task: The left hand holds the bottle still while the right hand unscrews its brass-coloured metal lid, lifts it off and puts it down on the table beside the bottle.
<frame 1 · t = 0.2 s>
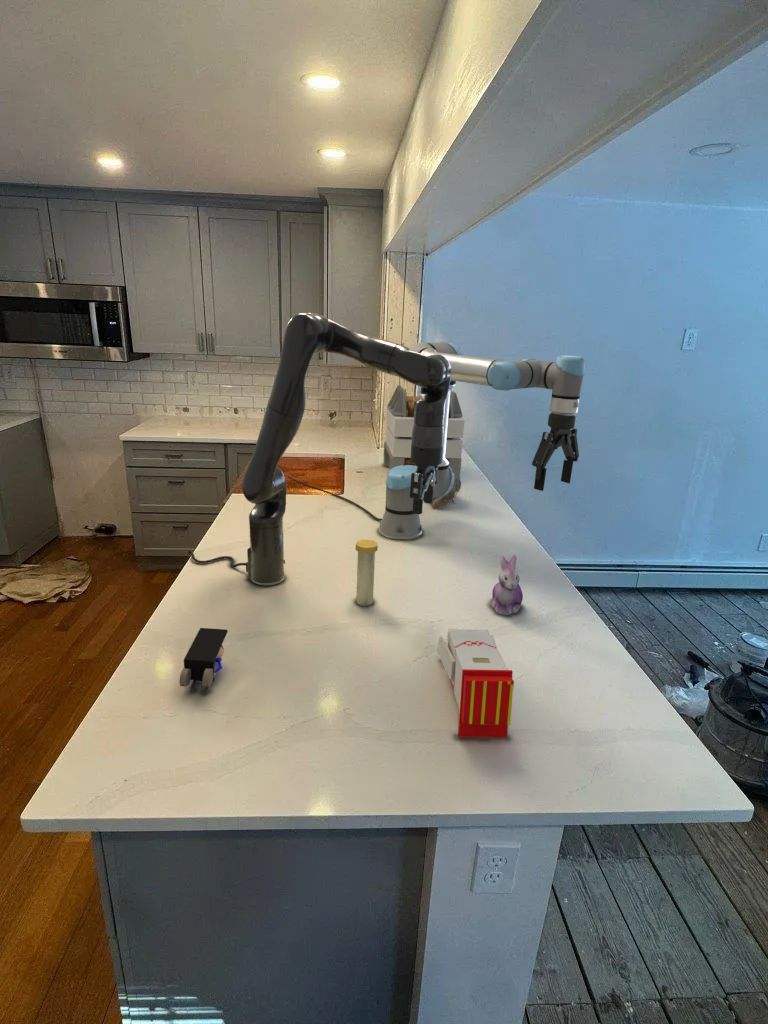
left hand: (422, 508, 138), 29 cm above the counter, tool pointing down, fingers open, 8 cm apart
right hand: (552, 485, 166), 28 cm above the counter, tool pointing down, fingers open, 13 cm apart
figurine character: (206, 676, 120), on the counter
lid: (366, 544, 147), point 17 cm above the counter, screwed on, not yet turned
bottle: (364, 601, 153), on the counter
fossil: (443, 501, 236), on the counter
toy: (469, 691, 119), on the counter
white wooden crate: (419, 473, 275), on the counter
figurine: (506, 607, 153), on the counter
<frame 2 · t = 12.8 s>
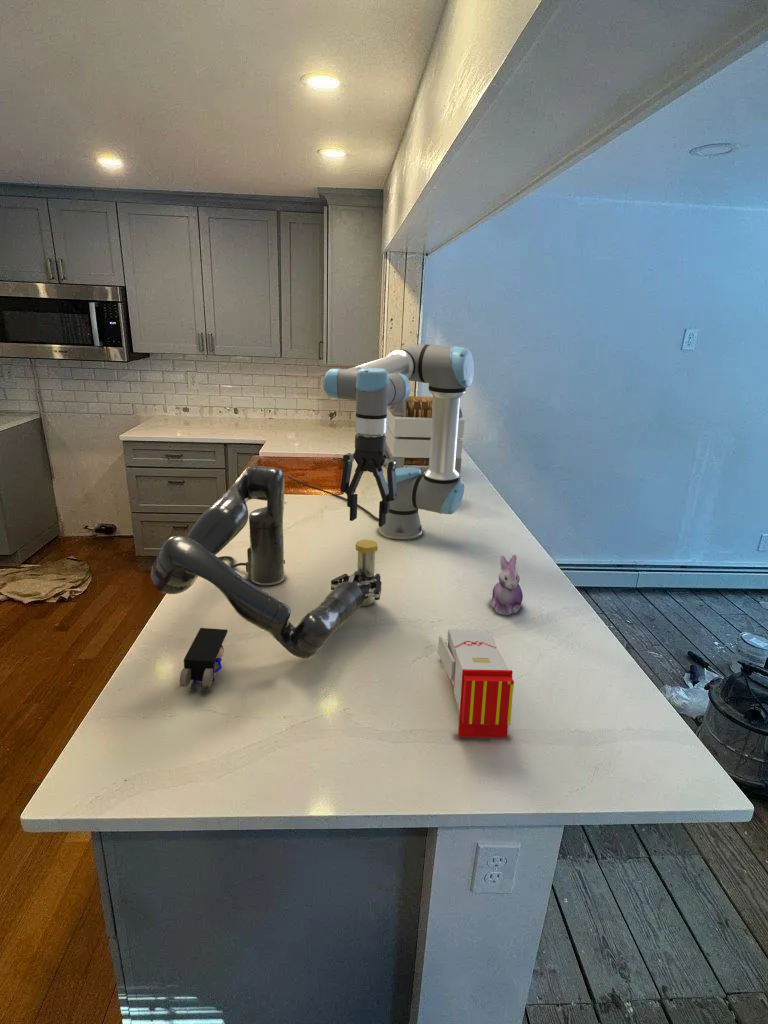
left hand: (369, 574, 153), 7 cm above the counter, tool horizontal, fingers closed on bottle, 4 cm apart
right hand: (367, 521, 145), 23 cm above the counter, tool pointing down, fingers open, 7 cm apart
bottle: (364, 601, 153), on the counter, touching left hand
everything else where it was.
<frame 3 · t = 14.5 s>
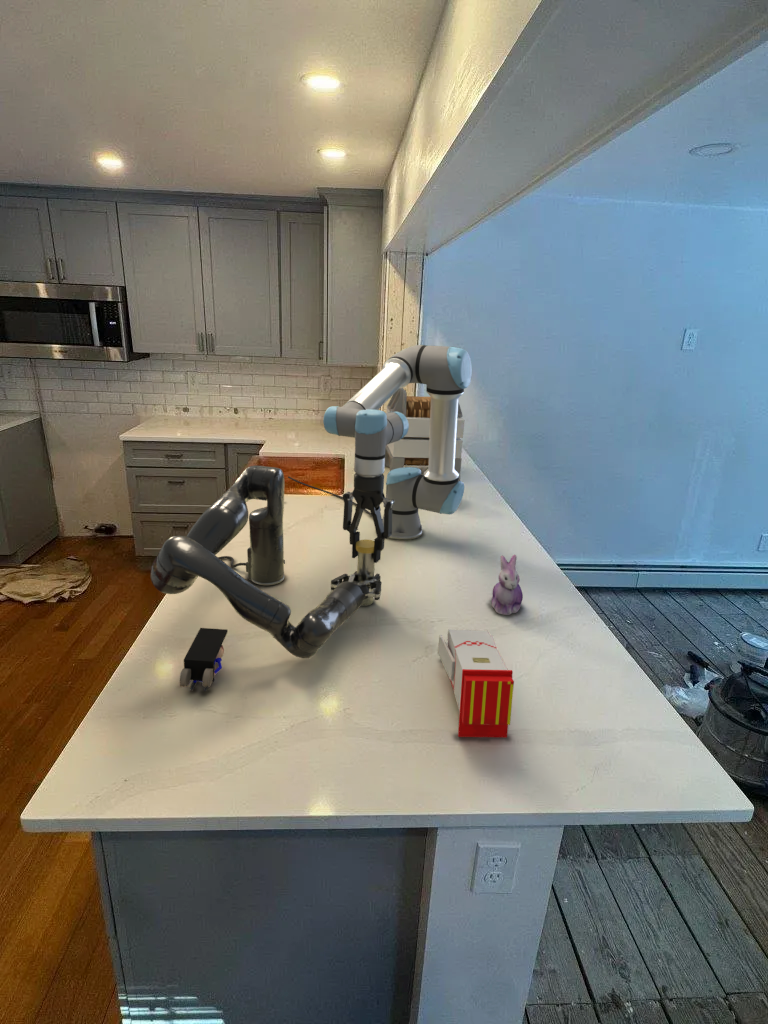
left hand: (369, 574, 153), 7 cm above the counter, tool horizontal, fingers closed on bottle, 4 cm apart
right hand: (366, 558, 149), 13 cm above the counter, tool pointing down, fingers closed on lid, 5 cm apart
lid: (366, 544, 147), point 17 cm above the counter, screwed on, not yet turned, touching right hand
bottle: (364, 601, 153), on the counter, touching left hand
everything else where it was.
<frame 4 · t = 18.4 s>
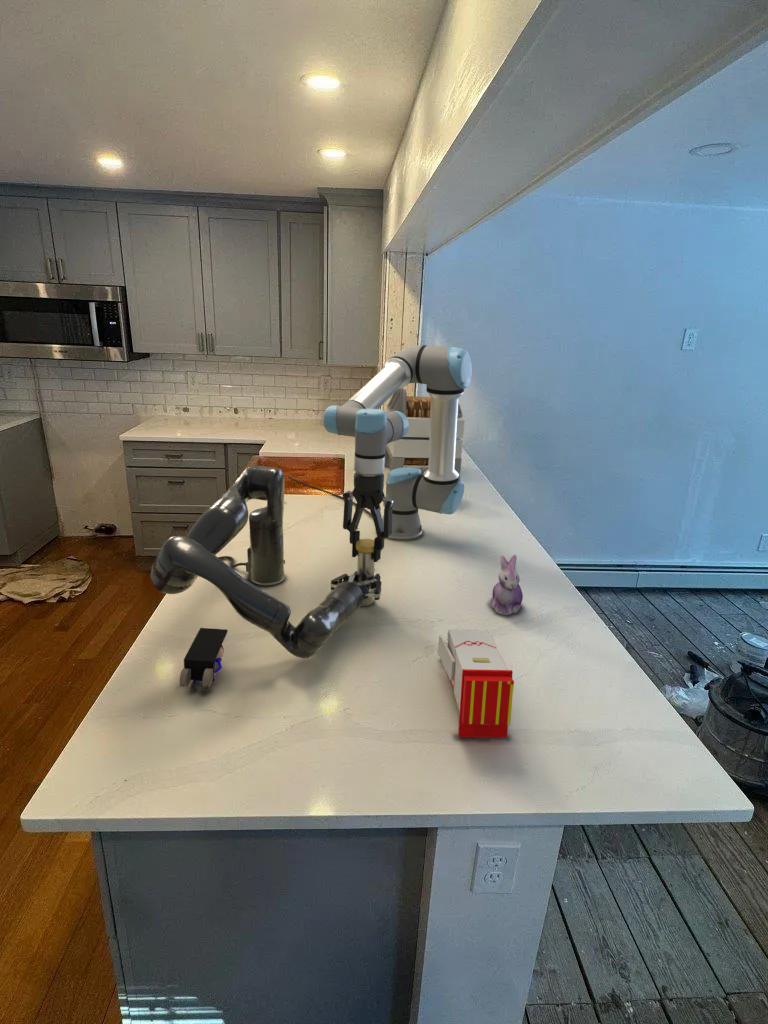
left hand: (369, 575, 153), 7 cm above the counter, tool horizontal, fingers closed on bottle, 4 cm apart
right hand: (366, 557, 149), 13 cm above the counter, tool pointing down, fingers closed on lid, 5 cm apart
lid: (366, 544, 147), point 17 cm above the counter, turned 143° so far, risen 0.2 cm, still on its thread, touching right hand
bottle: (364, 601, 153), on the counter, touching left hand
everything else where it was.
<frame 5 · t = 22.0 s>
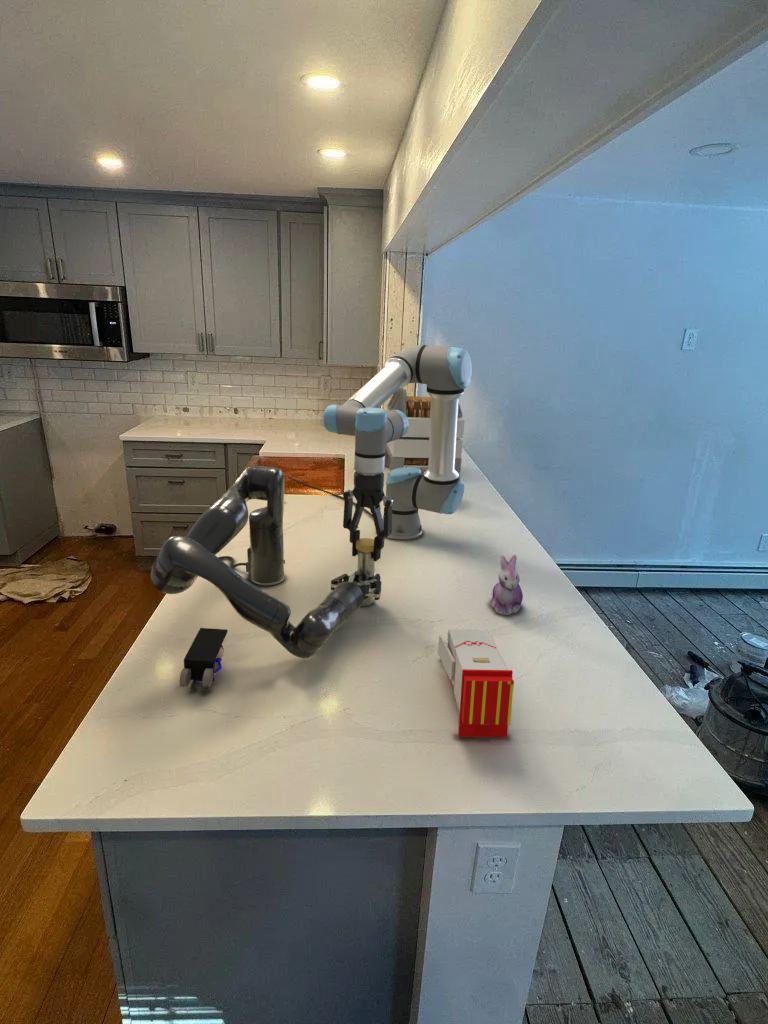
left hand: (369, 575, 153), 7 cm above the counter, tool horizontal, fingers closed on bottle, 4 cm apart
right hand: (366, 556, 148), 13 cm above the counter, tool pointing down, fingers closed on lid, 5 cm apart
lid: (366, 543, 147), point 17 cm above the counter, turned 286° so far, risen 0.4 cm, still on its thread, touching right hand
bottle: (364, 601, 153), on the counter, touching left hand
everything else where it was.
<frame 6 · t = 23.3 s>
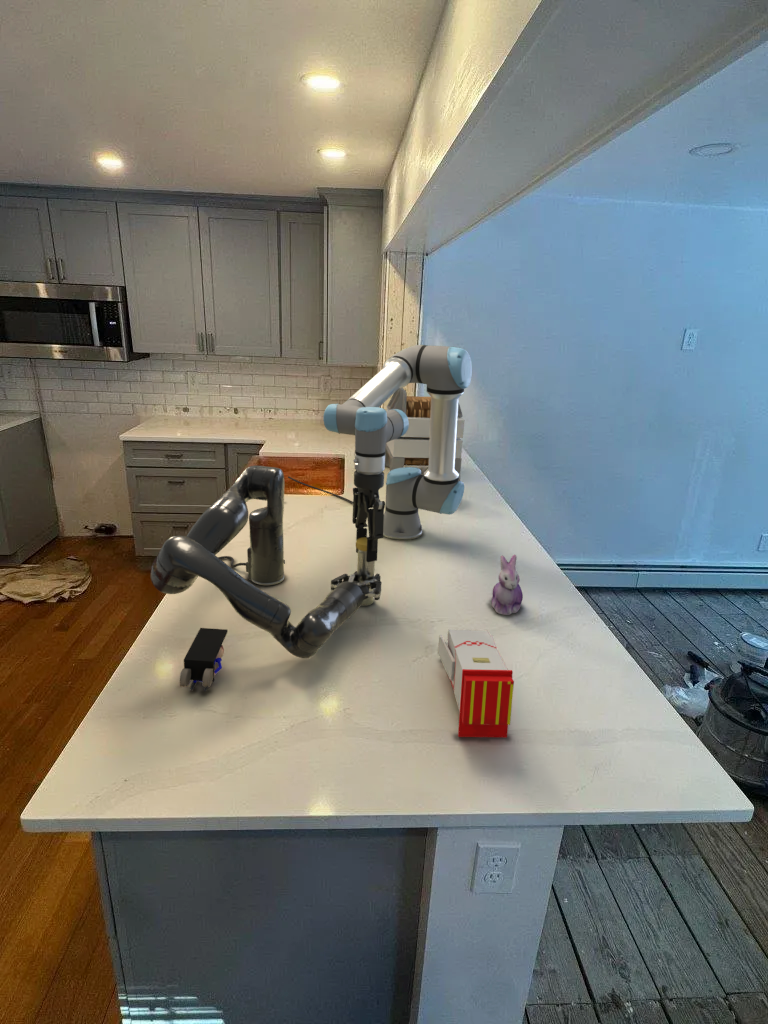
left hand: (369, 575, 153), 7 cm above the counter, tool horizontal, fingers closed on bottle, 4 cm apart
right hand: (366, 556, 148), 13 cm above the counter, tool pointing down, fingers closed on lid, 5 cm apart
lid: (366, 542, 147), point 17 cm above the counter, off its thread, touching right hand
bottle: (364, 601, 153), on the counter, touching left hand
everything else where it was.
when the right hand's fingers open (0 cm above the counter, at t = 29.6 s): lid drops 3 cm, point 1 cm above the counter.
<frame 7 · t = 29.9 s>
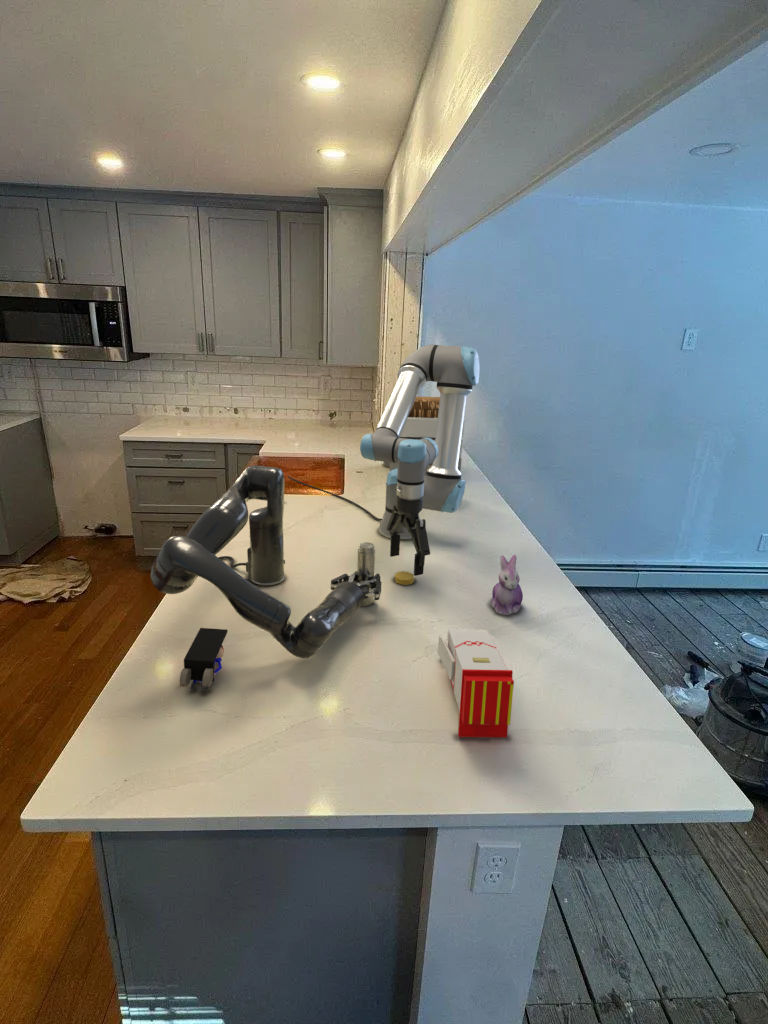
left hand: (369, 575, 153), 7 cm above the counter, tool horizontal, fingers closed on bottle, 4 cm apart
right hand: (406, 564, 165), 5 cm above the counter, tool pointing down, fingers open, 13 cm apart
lid: (404, 576, 165), point 1 cm above the counter, off its thread
bottle: (364, 601, 153), on the counter, touching left hand
everything else where it was.
when the left hand's fingers open (7 cm above the counter, at t = 30.1 s): bottle stays where it is, on the counter.
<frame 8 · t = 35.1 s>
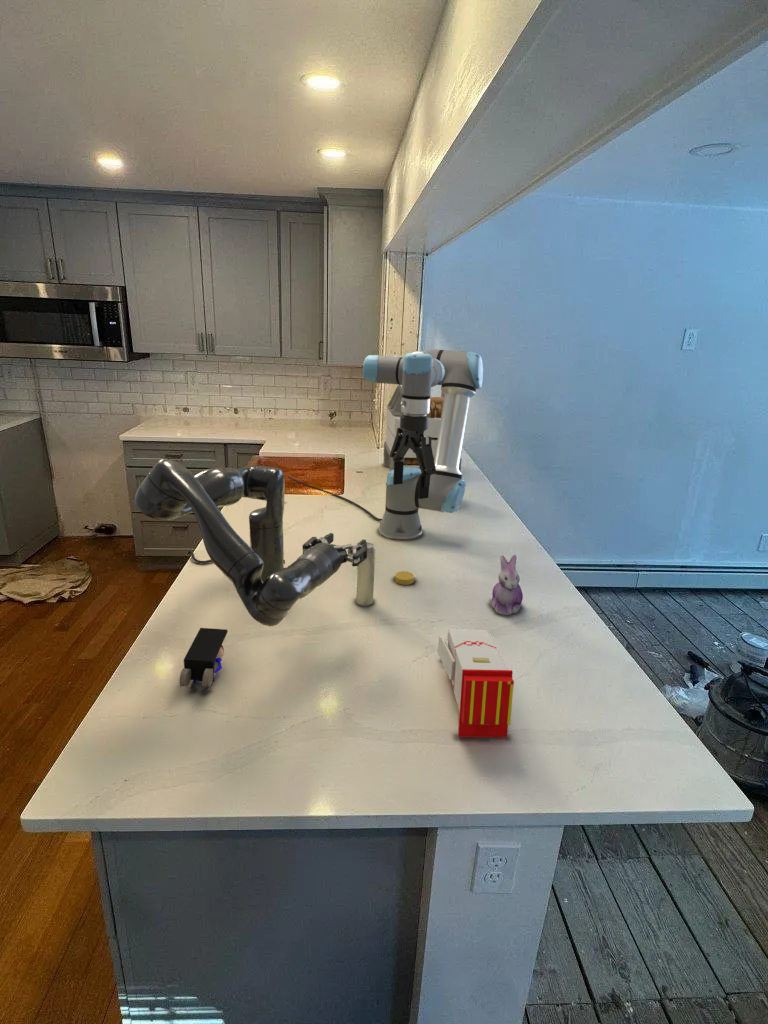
left hand: (348, 539, 136), 22 cm above the counter, tool horizontal, fingers open, 8 cm apart
right hand: (410, 490, 157), 28 cm above the counter, tool pointing down, fingers open, 13 cm apart
bottle: (364, 601, 153), on the counter
everything else where it was.
at the end: lid came off its thread; lid point 1.3 cm above the counter; the left hand is holding nothing; the right hand is holding nothing; bottle tilted 0°; bottle moved 0.0 cm from its start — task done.
